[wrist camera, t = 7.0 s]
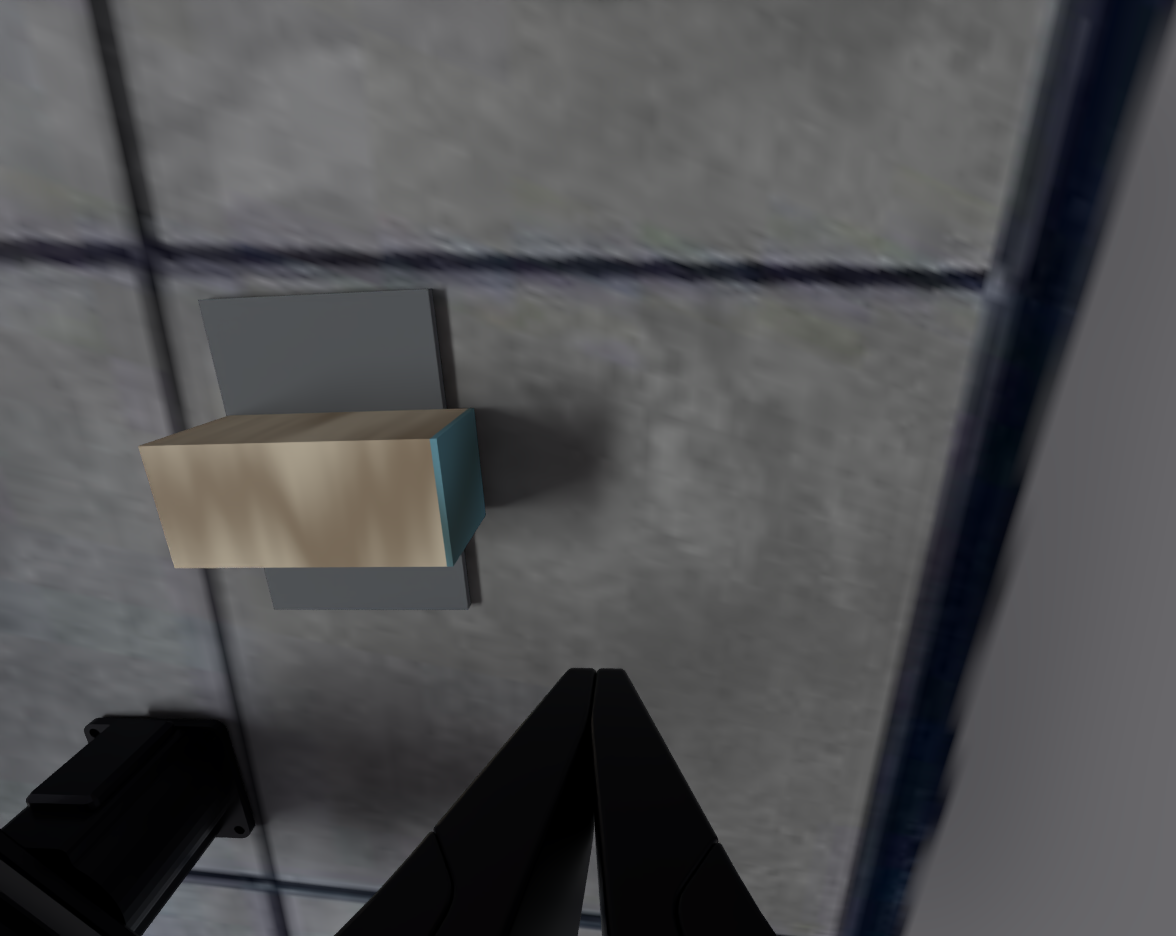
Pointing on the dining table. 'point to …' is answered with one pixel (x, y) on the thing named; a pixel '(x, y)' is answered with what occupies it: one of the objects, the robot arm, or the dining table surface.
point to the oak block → (319, 489)
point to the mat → (336, 409)
